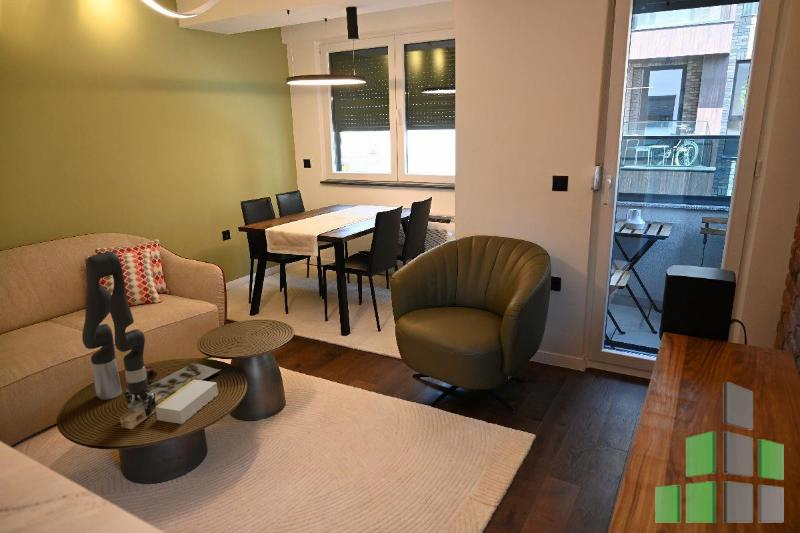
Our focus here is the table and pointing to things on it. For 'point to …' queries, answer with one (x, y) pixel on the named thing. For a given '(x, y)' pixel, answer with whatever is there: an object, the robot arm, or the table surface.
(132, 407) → the grey block
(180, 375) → the stone relief
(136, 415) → the tan long block
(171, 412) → the white rectangular box
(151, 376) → the pottery mug
